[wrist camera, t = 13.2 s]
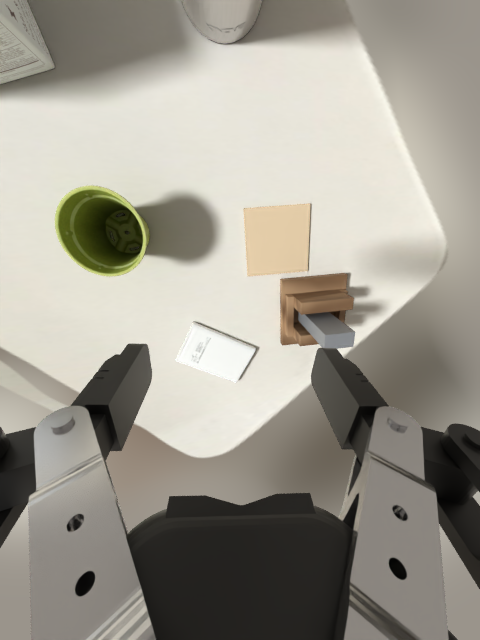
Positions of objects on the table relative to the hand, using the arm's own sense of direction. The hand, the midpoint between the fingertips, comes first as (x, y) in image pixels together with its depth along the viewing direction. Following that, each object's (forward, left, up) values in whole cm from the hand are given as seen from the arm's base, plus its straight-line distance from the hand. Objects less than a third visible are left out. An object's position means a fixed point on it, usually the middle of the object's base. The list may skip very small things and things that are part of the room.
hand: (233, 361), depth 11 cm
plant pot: (-6, -13, -28) cm, 31 cm away
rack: (+9, +15, -28) cm, 33 cm away
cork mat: (-3, +9, -28) cm, 29 cm away
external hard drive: (+16, -3, -29) cm, 33 cm away
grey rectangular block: (+9, +14, -27) cm, 32 cm away
